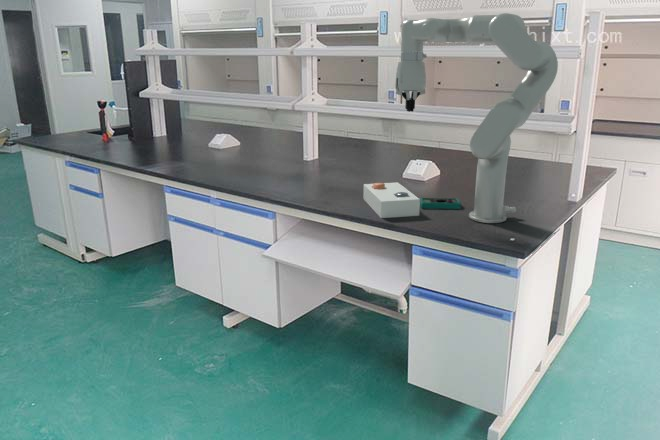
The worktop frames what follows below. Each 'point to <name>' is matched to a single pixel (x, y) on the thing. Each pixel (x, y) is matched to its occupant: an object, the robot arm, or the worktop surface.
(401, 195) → the charcoal plunger
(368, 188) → the panel
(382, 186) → the orange rounded cylinder
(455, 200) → the digital multimeter
